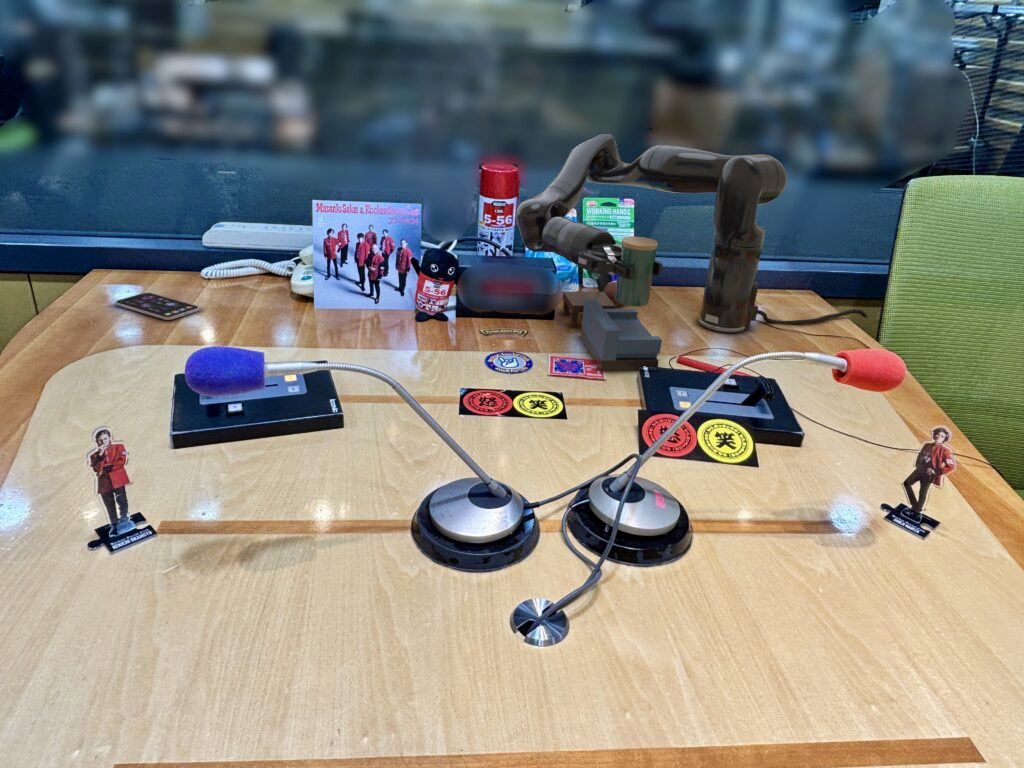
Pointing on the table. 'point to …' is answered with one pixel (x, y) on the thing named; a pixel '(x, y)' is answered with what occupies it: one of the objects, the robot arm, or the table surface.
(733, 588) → the table surface
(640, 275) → the canister
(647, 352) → the sofa
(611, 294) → the character figurine
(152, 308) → the smartphone
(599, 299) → the stool
